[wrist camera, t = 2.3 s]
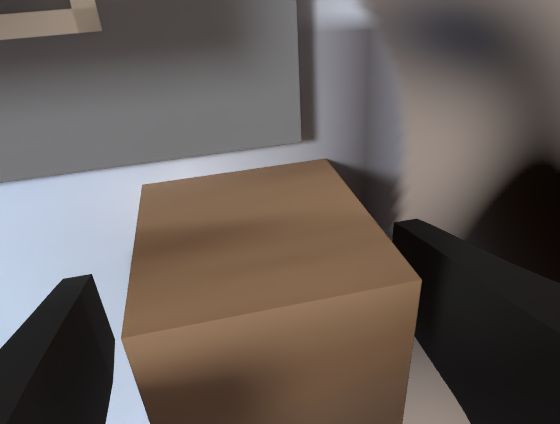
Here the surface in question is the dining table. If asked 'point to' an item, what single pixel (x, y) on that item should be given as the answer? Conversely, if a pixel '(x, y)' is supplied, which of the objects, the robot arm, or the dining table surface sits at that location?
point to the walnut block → (267, 302)
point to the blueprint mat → (143, 81)
